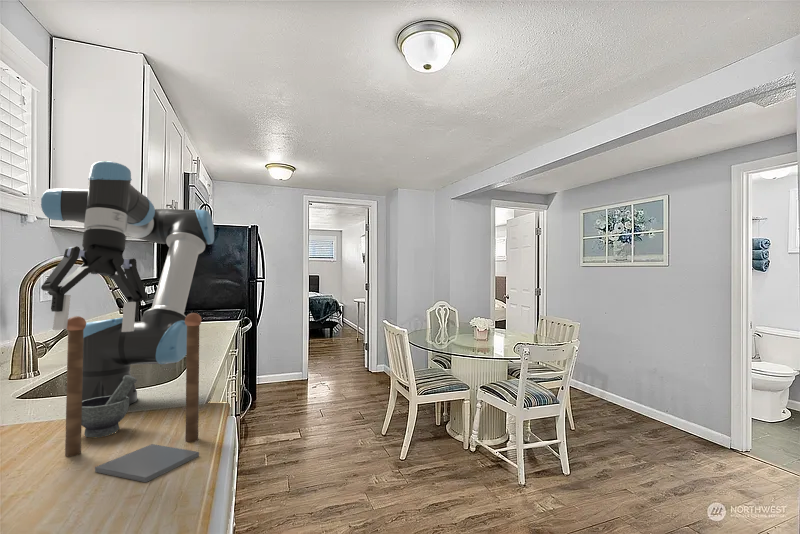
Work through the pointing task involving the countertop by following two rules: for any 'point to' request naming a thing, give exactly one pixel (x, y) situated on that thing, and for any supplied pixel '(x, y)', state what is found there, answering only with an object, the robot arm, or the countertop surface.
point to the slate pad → (147, 462)
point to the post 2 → (192, 376)
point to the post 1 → (74, 385)
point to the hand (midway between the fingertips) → (96, 331)
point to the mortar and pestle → (106, 410)
